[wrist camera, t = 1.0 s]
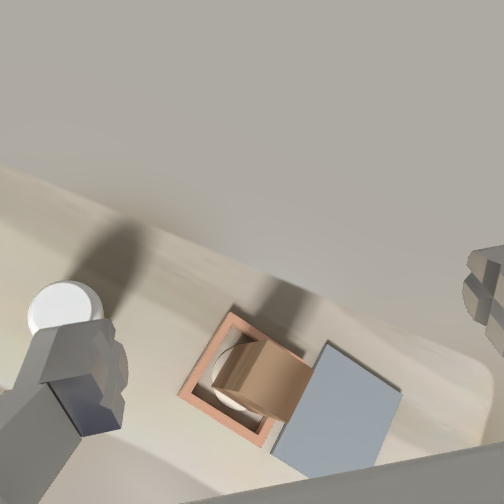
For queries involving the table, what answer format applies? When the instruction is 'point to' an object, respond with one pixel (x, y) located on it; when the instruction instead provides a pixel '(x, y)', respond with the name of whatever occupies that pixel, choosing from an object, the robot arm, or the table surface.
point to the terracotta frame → (185, 392)
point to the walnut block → (264, 379)
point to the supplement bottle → (64, 305)
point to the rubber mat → (337, 419)
